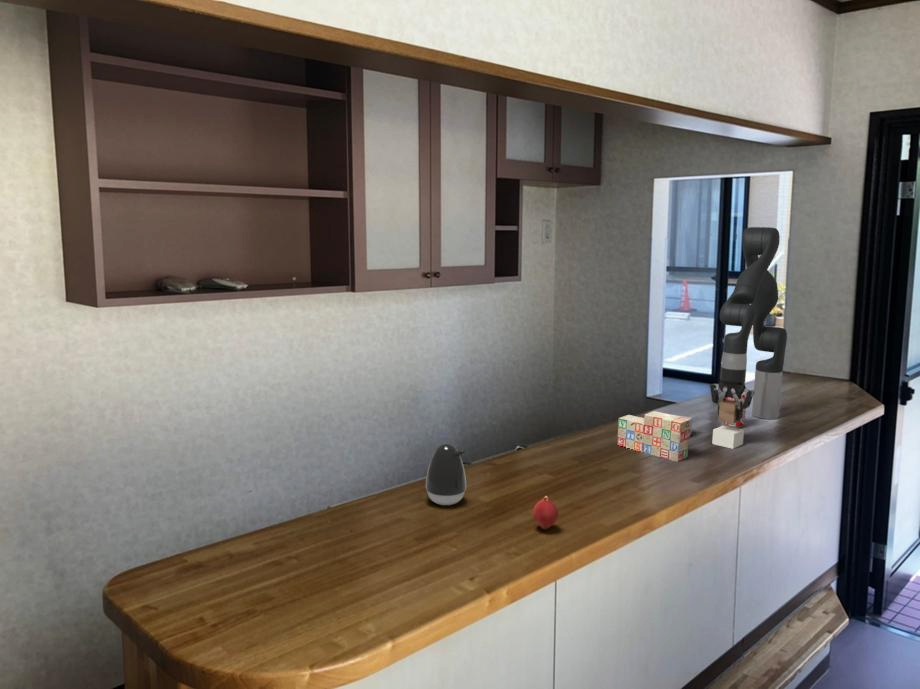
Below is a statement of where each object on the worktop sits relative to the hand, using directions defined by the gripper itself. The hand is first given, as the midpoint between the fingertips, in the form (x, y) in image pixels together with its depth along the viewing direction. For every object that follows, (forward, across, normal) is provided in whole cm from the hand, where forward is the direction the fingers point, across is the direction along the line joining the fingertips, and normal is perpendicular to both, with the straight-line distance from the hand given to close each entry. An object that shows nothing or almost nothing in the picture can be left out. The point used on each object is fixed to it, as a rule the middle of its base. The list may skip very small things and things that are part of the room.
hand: (729, 418), depth 242 cm
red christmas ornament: (+9, 0, +96) cm, 97 cm away
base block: (+9, 0, 0) cm, 9 cm away
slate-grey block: (+9, +15, +2) cm, 17 cm away
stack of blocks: (+9, +13, +25) cm, 30 cm away
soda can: (+9, +8, -22) cm, 25 cm away
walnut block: (+1, 0, 0) cm, 1 cm away
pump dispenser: (+9, +27, +101) cm, 105 cm away
